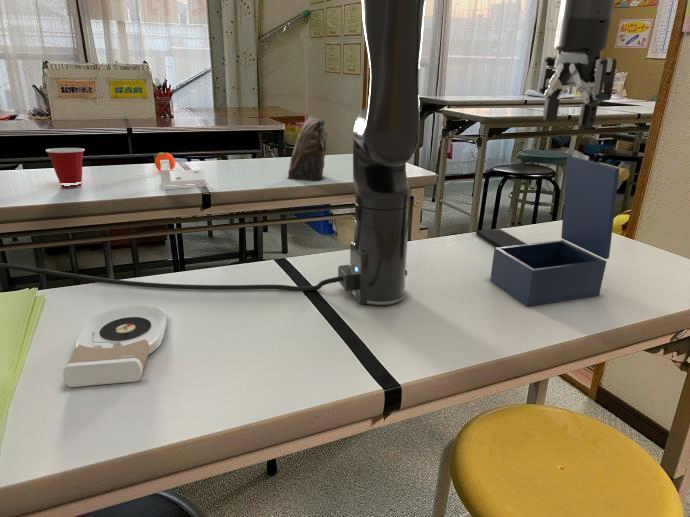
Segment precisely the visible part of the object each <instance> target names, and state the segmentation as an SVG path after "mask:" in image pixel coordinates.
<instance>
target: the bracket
mask: <svg viewBox="0 0 690 517" xmlns="http://www.w3.org/2000/svg"><path fill="white" fill-rule="evenodd" d="M160 164H161V169H160V170H161V171H160V170H159V171H160V176H161V184H162V190H177V189H192V188H206V187H207V185H206V176H205V171H204V169H187V170H171V171H170V166H169V160H160ZM199 183H202V184H199ZM186 184H198V185H186ZM165 185H180V186H165Z"/></svg>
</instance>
